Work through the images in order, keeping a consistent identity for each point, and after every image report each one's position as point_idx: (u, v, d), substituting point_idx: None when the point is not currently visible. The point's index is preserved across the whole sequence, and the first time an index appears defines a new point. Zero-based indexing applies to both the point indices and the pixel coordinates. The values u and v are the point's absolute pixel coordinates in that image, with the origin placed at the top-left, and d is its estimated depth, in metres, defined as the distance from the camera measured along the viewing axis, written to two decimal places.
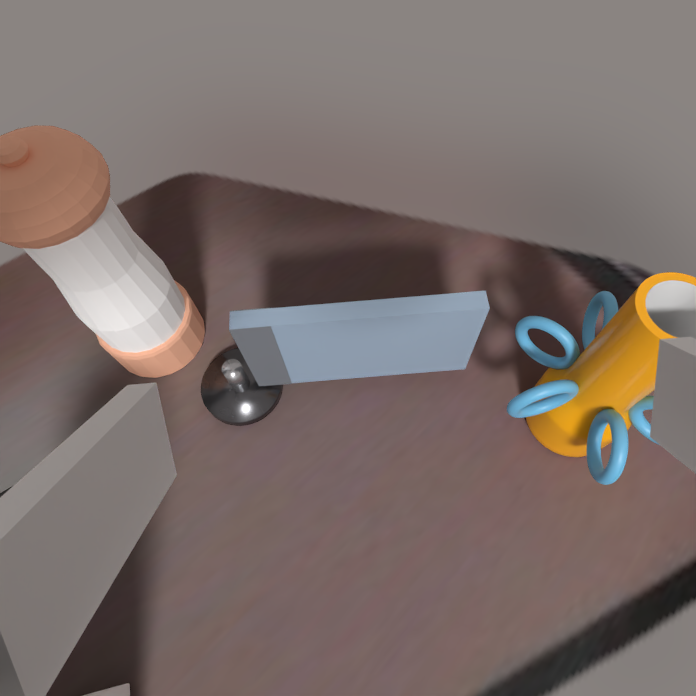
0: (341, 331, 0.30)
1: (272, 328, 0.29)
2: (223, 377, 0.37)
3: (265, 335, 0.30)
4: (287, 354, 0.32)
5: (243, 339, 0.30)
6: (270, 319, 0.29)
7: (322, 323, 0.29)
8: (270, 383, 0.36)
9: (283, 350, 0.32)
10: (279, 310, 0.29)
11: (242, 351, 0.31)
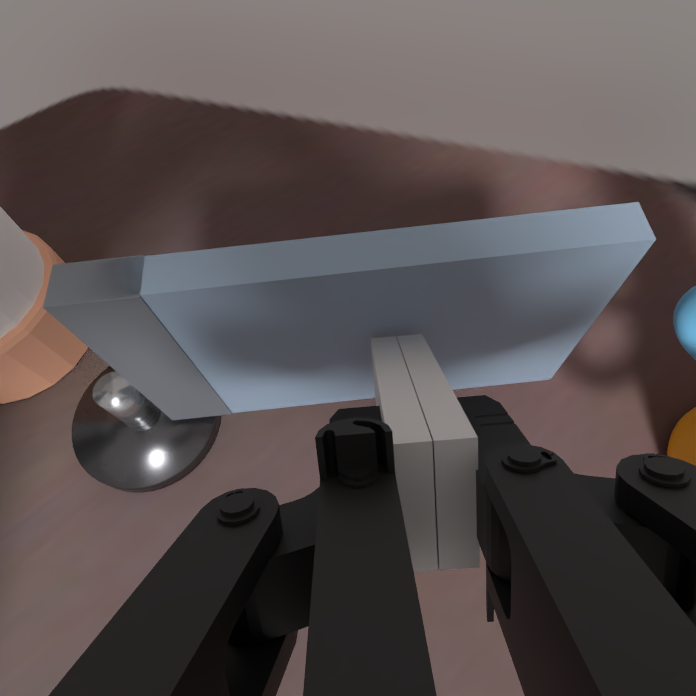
0: (308, 306, 0.13)
1: (146, 301, 0.12)
2: None
3: (137, 319, 0.13)
4: (205, 360, 0.16)
5: (90, 329, 0.13)
6: (140, 280, 0.12)
7: (262, 286, 0.12)
8: (191, 414, 0.20)
9: (193, 352, 0.15)
10: (164, 259, 0.13)
11: (103, 356, 0.15)
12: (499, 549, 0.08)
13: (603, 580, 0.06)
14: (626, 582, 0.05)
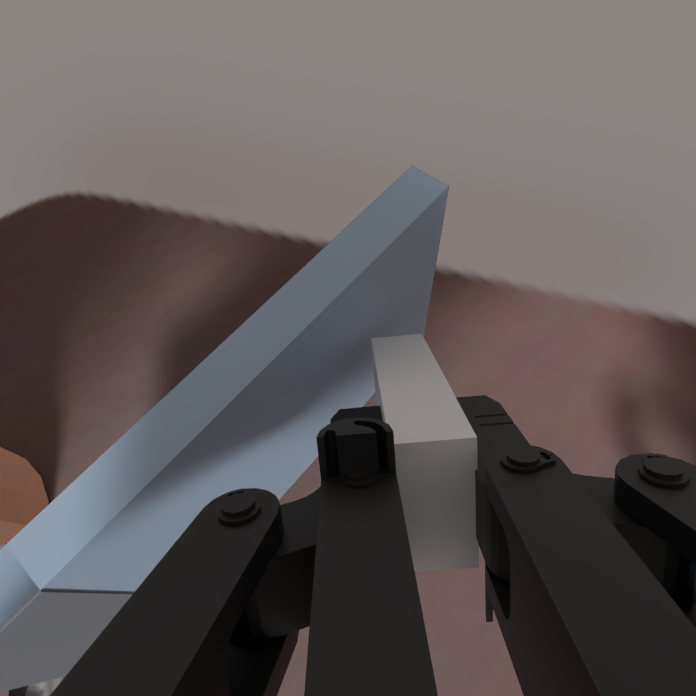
0: (220, 447, 0.12)
1: (51, 588, 0.09)
2: None
3: (49, 613, 0.10)
4: (144, 579, 0.13)
5: None
6: (25, 573, 0.09)
7: (168, 468, 0.10)
8: None
9: (127, 584, 0.12)
10: (33, 529, 0.10)
11: (29, 681, 0.11)
12: (498, 549, 0.08)
13: (602, 580, 0.05)
14: (625, 582, 0.05)
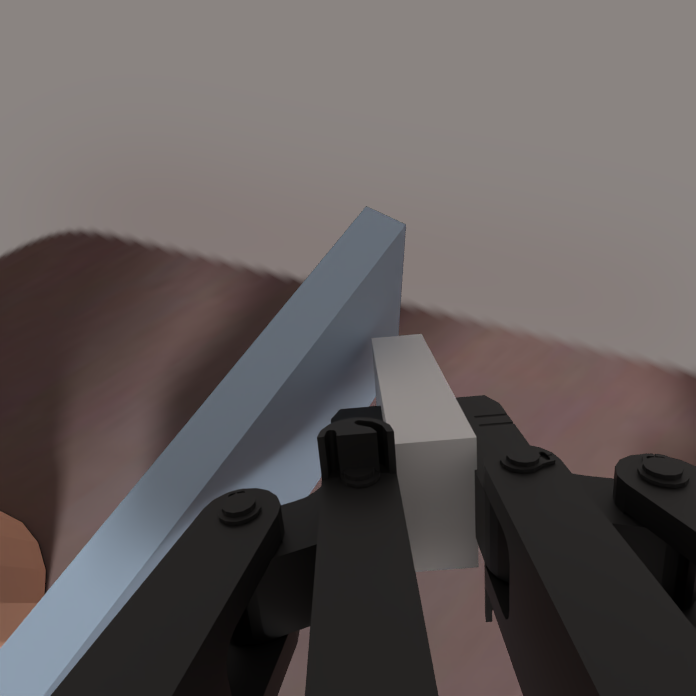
0: None
1: None
2: None
3: None
4: None
5: None
6: None
7: (145, 569, 0.09)
8: None
9: None
10: (1, 661, 0.09)
11: None
12: (497, 549, 0.08)
13: (601, 580, 0.05)
14: (624, 582, 0.05)
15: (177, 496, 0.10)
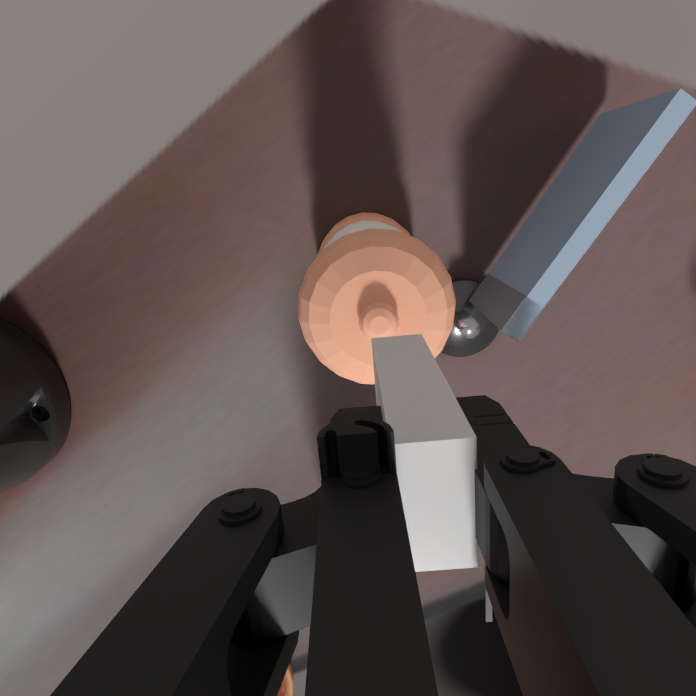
0: None
1: None
2: None
3: None
4: None
5: None
6: (536, 303, 0.29)
7: (575, 262, 0.28)
8: None
9: None
10: (535, 290, 0.28)
11: None
12: (498, 549, 0.08)
13: (601, 580, 0.05)
14: (624, 582, 0.05)
15: (588, 239, 0.28)
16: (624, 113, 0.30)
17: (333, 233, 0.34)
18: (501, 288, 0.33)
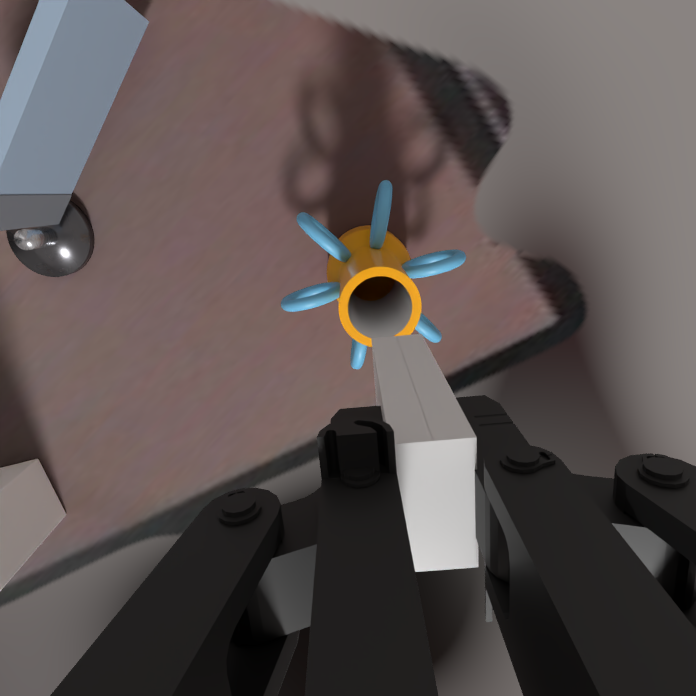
0: (31, 130, 0.27)
1: None
2: None
3: None
4: (33, 188, 0.31)
5: None
6: None
7: (11, 145, 0.27)
8: (60, 213, 0.35)
9: (26, 191, 0.30)
10: None
11: (8, 228, 0.30)
12: (497, 549, 0.08)
13: (601, 580, 0.05)
14: (624, 582, 0.05)
15: (13, 118, 0.26)
16: None
17: None
18: None
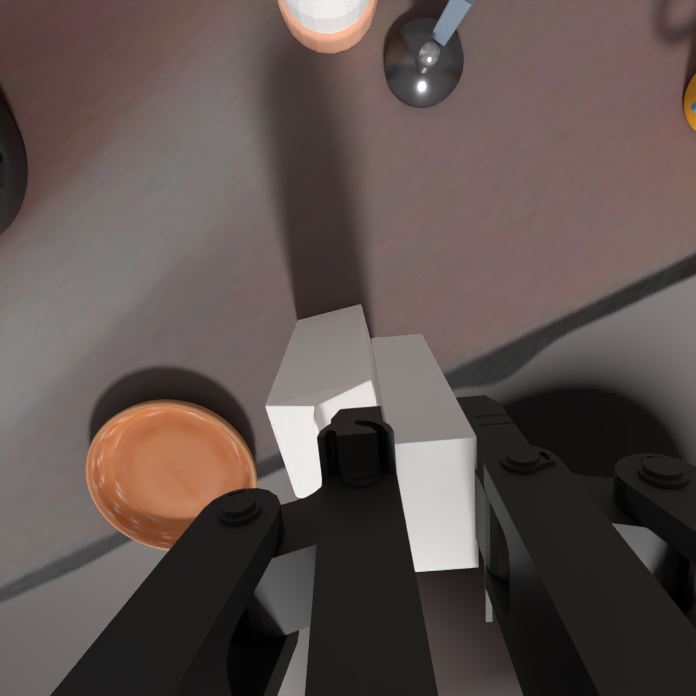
0: None
1: None
2: (406, 55, 0.38)
3: None
4: None
5: None
6: None
7: None
8: None
9: None
10: None
11: (462, 19, 0.32)
12: (497, 549, 0.08)
13: (601, 580, 0.05)
14: (624, 582, 0.05)
15: None
16: None
17: None
18: None
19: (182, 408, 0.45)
